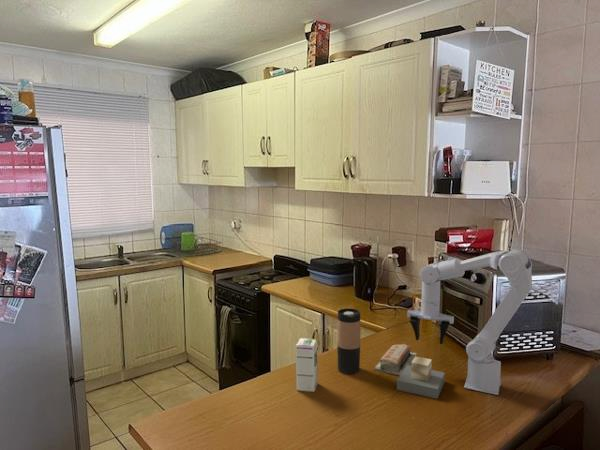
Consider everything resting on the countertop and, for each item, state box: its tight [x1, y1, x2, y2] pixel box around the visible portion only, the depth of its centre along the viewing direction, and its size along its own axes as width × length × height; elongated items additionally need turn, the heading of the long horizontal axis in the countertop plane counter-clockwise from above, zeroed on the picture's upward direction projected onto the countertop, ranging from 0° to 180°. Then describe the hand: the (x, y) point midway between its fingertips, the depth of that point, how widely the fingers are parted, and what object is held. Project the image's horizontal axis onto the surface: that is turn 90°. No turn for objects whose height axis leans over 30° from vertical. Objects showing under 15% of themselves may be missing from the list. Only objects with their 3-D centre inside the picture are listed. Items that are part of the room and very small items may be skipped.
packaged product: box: [374, 343, 418, 377], centre depth 149 cm, size 18×5×10 cm
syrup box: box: [295, 337, 319, 393], centre depth 132 cm, size 6×6×14 cm
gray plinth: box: [396, 365, 446, 400], centre depth 133 cm, size 12×12×3 cm
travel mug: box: [336, 308, 361, 375], centre depth 143 cm, size 8×8×20 cm
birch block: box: [411, 356, 432, 382], centre depth 133 cm, size 5×5×5 cm
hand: (429, 341), depth 142 cm, fingers open, 7 cm apart
